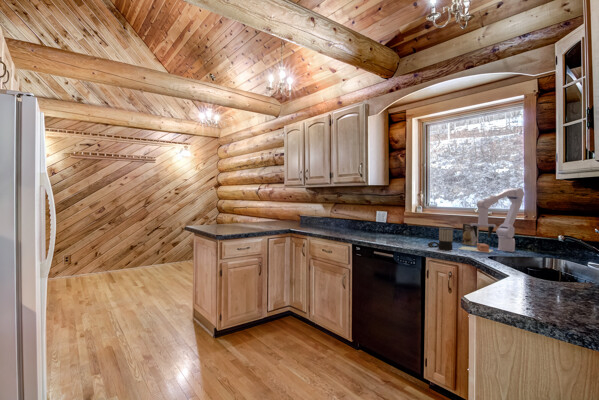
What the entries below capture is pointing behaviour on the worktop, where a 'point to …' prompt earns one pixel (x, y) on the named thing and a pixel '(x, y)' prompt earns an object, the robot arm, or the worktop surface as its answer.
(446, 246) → the milk frother
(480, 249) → the block
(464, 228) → the coffee box
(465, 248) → the mat
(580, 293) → the worktop surface
